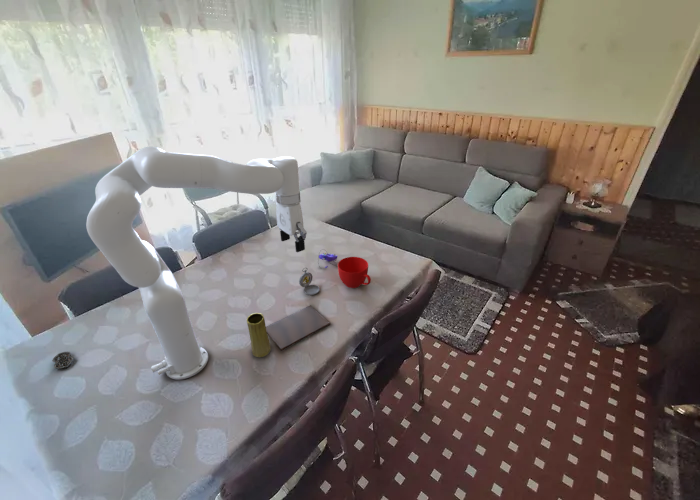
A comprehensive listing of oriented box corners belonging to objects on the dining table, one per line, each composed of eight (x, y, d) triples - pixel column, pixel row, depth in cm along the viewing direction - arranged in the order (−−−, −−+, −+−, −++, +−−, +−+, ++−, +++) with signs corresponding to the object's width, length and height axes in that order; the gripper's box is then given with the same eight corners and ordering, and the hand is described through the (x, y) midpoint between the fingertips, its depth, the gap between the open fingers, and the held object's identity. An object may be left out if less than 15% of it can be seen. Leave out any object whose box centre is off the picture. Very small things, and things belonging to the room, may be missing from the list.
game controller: (334, 249, 160) (342, 254, 151) (331, 264, 161) (339, 271, 153) (315, 247, 155) (322, 253, 147) (312, 263, 157) (319, 270, 148)
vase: (273, 344, 111) (267, 312, 104) (267, 358, 105) (261, 325, 98) (256, 343, 111) (249, 311, 104) (249, 356, 106) (242, 324, 99)
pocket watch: (317, 297, 133) (315, 277, 128) (297, 294, 135) (295, 274, 130) (322, 285, 140) (321, 266, 135) (304, 283, 141) (302, 264, 136)
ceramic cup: (358, 301, 131) (358, 281, 125) (332, 282, 142) (331, 263, 137) (380, 288, 138) (381, 269, 133) (354, 272, 149) (354, 253, 144)
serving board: (281, 351, 108) (281, 349, 108) (264, 329, 117) (263, 327, 116) (329, 324, 119) (329, 322, 118) (310, 307, 128) (310, 305, 127)
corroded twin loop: (70, 350, 108) (68, 348, 108) (76, 363, 104) (75, 361, 103) (51, 359, 105) (50, 357, 105) (57, 373, 101) (55, 370, 100)
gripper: (264, 193, 105) (270, 239, 114) (292, 208, 94) (296, 259, 102) (285, 188, 109) (289, 233, 118) (313, 202, 98) (316, 251, 106)
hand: (292, 245), depth 110 cm, fingers open, 9 cm apart
